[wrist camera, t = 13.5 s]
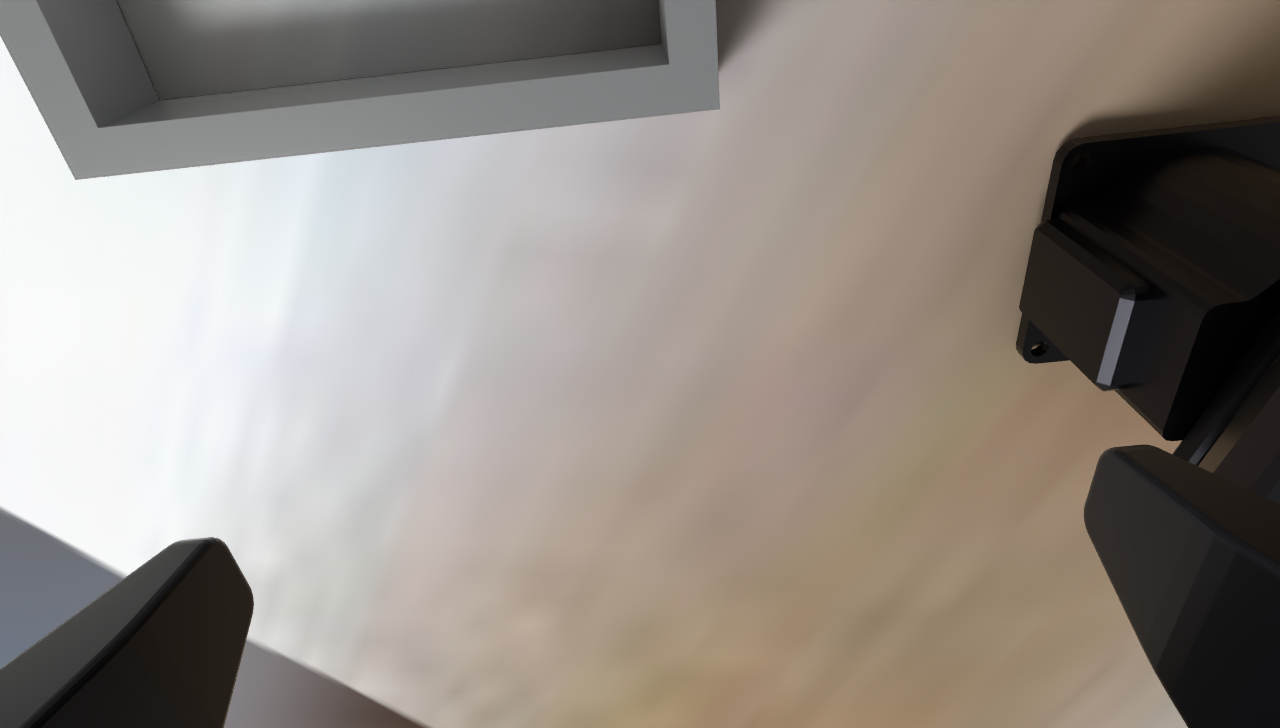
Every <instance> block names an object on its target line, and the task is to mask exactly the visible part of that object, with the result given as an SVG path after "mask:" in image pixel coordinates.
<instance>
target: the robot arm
mask: <svg viewBox="0 0 1280 728" xmlns="http://www.w3.org/2000/svg"><path fill="white" fill-rule="evenodd" d="M1081 153H1083V159H1082V161H1081V163H1079V164H1078V165H1077V166H1075V167H1073V168H1071V163H1072V161H1073V159H1074V158H1075V157H1076V156H1077V155H1078V154H1081ZM1019 308H1020V311H1021V312H1022V317H1021V322H1020V327H1019V332H1018V337H1017V342H1016V350H1017V351H1018V353H1019V354H1020V355H1021V356H1022V357H1023V358H1024V360H1025V361H1027V362H1029V363H1036V364H1037V363H1047V362H1057V361H1066V360H1071V361H1072V362H1073V363H1074V364H1075V365H1076V366H1077V367H1078V368H1079V369H1080V370H1081V371H1082V372H1083V373H1084V374H1085V375H1086V376H1087V377H1088V378H1089V379H1090V380H1091V381H1092V382H1093V383H1094V384H1095V385H1096V386H1097V387H1098V388H1099V389H1100V390H1102V391H1111V390H1115V391H1116V392H1117V393H1118V394H1119V395H1120V396H1121V397H1122V398H1123V399H1124V400H1125V401H1126V402H1127V403H1128V404H1129V405H1130V406H1131V407H1132V408H1133V409H1134V410H1135V411H1136V412H1137V413H1139V414H1140V415H1141V416H1142V417H1143V418H1144V419H1145V420H1146V421H1147V422H1148V423H1149V424H1150V425H1151V426H1152V427H1153V428H1154V429H1155V430H1156V431H1157V432H1158V433H1159V434H1160V435H1161V436H1162V437H1163V438H1164V439H1165V440H1168V441H1178V440H1182V442H1181V443H1180V444H1179V446H1178V447H1177V449H1176V450H1175V451H1174V453H1173V454H1170V453H1168V452H1166V451H1164V450H1162V449H1159V448H1157V447H1155V446H1151V445H1134V446H1124V447H1114V448H1110V449H1107V450H1106V451H1105V452H1104V453H1103V454H1102V455H1101V456H1100V458H1099V460H1098V463H1097V467H1096V470H1095V473H1094V477H1093V480H1092V483H1091V486H1090V490H1089V493H1088V496H1087V500H1086V503H1085V507H1084V521H1085V526H1086V529H1087V532H1088V534H1089V536H1090V539H1091V541H1092V543H1093V545H1094V547H1095V549H1096V551H1097V553H1098V555H1099V557H1100V560H1101V562H1102V564H1103V566H1104V568H1105V570H1106V572H1107V574H1108V576H1109V579H1110V581H1111V583H1112V585H1113V587H1114V589H1115V591H1116V593H1117V595H1118V597H1119V600H1120V602H1121V604H1122V606H1123V608H1124V610H1125V612H1126V614H1127V616H1128V618H1129V621H1130V623H1131V625H1132V627H1133V629H1134V631H1135V633H1136V635H1137V637H1138V640H1139V642H1140V644H1141V646H1142V648H1143V650H1144V652H1145V654H1146V656H1147V658H1148V660H1149V661H1150V663H1151V665H1152V667H1153V669H1154V671H1155V673H1156V675H1157V676H1158V678H1159V680H1160V681H1161V683H1162V685H1163V687H1164V688H1165V690H1166V692H1167V694H1168V695H1169V697H1170V699H1171V700H1172V702H1173V704H1174V705H1175V707H1176V708H1177V710H1178V712H1179V713H1180V715H1181V717H1182V718H1183V720H1184V722H1185V723H1186V725H1187V727H1188V728H1280V117H1272V118H1263V119H1253V120H1244V121H1235V122H1226V123H1216V124H1207V125H1198V126H1188V127H1179V128H1170V129H1161V130H1151V131H1142V132H1133V133H1123V134H1114V135H1105V136H1096V137H1086V138H1077V139H1074V140H1070V141H1068V142H1067V143H1066V144H1064V145H1063V146H1062V147H1061V148H1060V149H1059V150H1058V151H1057V153H1056V155H1055V158H1054V160H1053V165H1052V170H1051V175H1050V180H1049V185H1048V190H1047V195H1046V200H1045V205H1044V209H1043V214H1042V219H1041V223H1040V224H1039V225H1038V226H1037V228H1036V229H1035V231H1034V236H1033V241H1032V246H1031V251H1030V256H1029V261H1028V266H1027V271H1026V276H1025V281H1024V285H1023V290H1022V295H1021V300H1020V305H1019ZM1041 341H1042V342H1041ZM1038 342H1041V344H1040V345H1039V346H1038V347H1037V348H1035V349H1032V347H1033V346H1034V345H1035V344H1036V343H1038ZM1031 349H1032V350H1031ZM253 606H254V601H253V594H252V590H251V588H250V586H249V584H248V582H247V580H246V579H245V577H244V575H243V573H242V572H241V570H240V568H239V566H238V564H237V563H236V561H235V559H234V557H233V555H232V554H231V552H230V550H229V548H228V547H227V545H226V544H225V543H224V542H223V541H221V540H220V539H218V538H213V537H209V538H199V539H189V540H182V541H178V542H175V543H173V544H171V545H170V546H168V547H167V548H165V549H164V550H163V551H161V552H160V553H159V554H157V555H156V556H154V557H153V558H152V559H150V560H149V561H148V562H146V563H145V564H143V565H142V566H141V567H139V568H138V569H137V570H135V571H134V572H132V573H131V574H130V575H128V576H127V577H126V578H124V579H123V580H122V581H120V582H119V583H118V584H116V585H115V586H113V587H112V588H110V589H109V590H108V591H106V592H105V593H104V594H102V595H101V596H100V597H98V598H97V599H95V600H94V601H93V602H91V603H90V604H89V605H87V606H86V607H84V608H83V609H82V610H80V611H79V612H77V613H76V614H75V615H73V616H72V617H71V618H69V619H68V620H66V621H65V622H64V623H62V624H61V625H60V626H58V627H57V628H56V629H54V630H53V631H51V632H50V633H49V634H47V635H46V636H45V637H43V638H42V639H40V640H39V641H38V642H36V643H35V644H34V645H32V646H31V647H30V648H28V649H27V650H25V651H24V652H23V653H21V654H20V655H18V656H17V657H16V658H14V659H13V660H12V661H10V662H9V663H8V664H6V665H5V666H3V667H2V668H1V669H0V728H224V724H225V720H226V716H227V712H228V709H229V704H230V701H231V697H232V693H233V689H234V685H235V681H236V677H237V673H238V669H239V666H240V662H241V658H242V654H243V650H244V646H245V642H246V638H247V634H248V630H249V626H250V623H251V619H252V614H253Z"/></svg>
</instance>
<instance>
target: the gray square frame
mask: <svg viewBox="0 0 1280 728" xmlns="http://www.w3.org/2000/svg"><path fill="white" fill-rule="evenodd" d="M659 12H660V25H661V38H662V44H660V45H651V46H642V47H633V48H624V49H615V50H607V51H598V52H589V53H580V54H571V55H562V56H553V57H544V58H535V59H526V60H517V61H508V62H499V63H490V64H481V65H473V66H464V67H455V68H446V69H437V70H428V71H419V72H410V73H401V74H392V75H383V76H374V77H365V78H356V79H347V80H338V81H330V82H321V83H312V84H303V85H294V86H285V87H276V88H267V89H258V90H249V91H240V92H231V93H222V94H213V95H204V96H196V97H187V98H178V99H169V100H159V98H158V96H157V93H156V91H155V89H154V86H153V84H152V82H151V79H150V77H149V75H148V72H147V70H146V68H145V65H144V63H143V61H142V59H141V56H140V54H139V52H138V49H137V47H136V45H135V42H134V40H133V38H132V35H131V33H130V31H129V28H128V26H127V24H126V22H125V19H124V17H123V15H122V12H121V10H120V8H119V5H118V3H117V1H116V0H0V36H1V38H2V40H3V42H4V43H5V45H6V47H7V49H8V51H9V53H10V55H11V57H12V59H13V61H14V63H15V65H16V66H17V68H18V70H19V72H20V74H21V76H22V78H23V80H24V82H25V84H26V86H27V88H28V90H29V91H30V93H31V95H32V97H33V99H34V101H35V103H36V105H37V107H38V109H39V111H40V113H41V115H42V116H43V118H44V120H45V122H46V124H47V126H48V128H49V130H50V132H51V134H52V136H53V138H54V140H55V141H56V143H57V145H58V147H59V149H60V151H61V153H62V155H63V157H64V159H65V161H66V163H67V165H68V166H69V168H70V170H71V172H72V174H73V176H74V178H75V180H78V179H87V178H96V177H105V176H114V175H123V174H132V173H142V172H151V171H160V170H169V169H178V168H187V167H196V166H205V165H214V164H224V163H233V162H242V161H251V160H260V159H269V158H278V157H287V156H296V155H306V154H315V153H324V152H333V151H342V150H351V149H360V148H369V147H378V146H388V145H397V144H406V143H415V142H424V141H433V140H442V139H451V138H460V137H470V136H479V135H488V134H497V133H506V132H515V131H524V130H533V129H542V128H552V127H561V126H570V125H579V124H588V123H597V122H606V121H615V120H624V119H634V118H643V117H652V116H661V115H670V114H679V113H688V112H697V111H706V110H716V109H720V101H719V75H718V50H717V24H716V0H659Z"/></svg>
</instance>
